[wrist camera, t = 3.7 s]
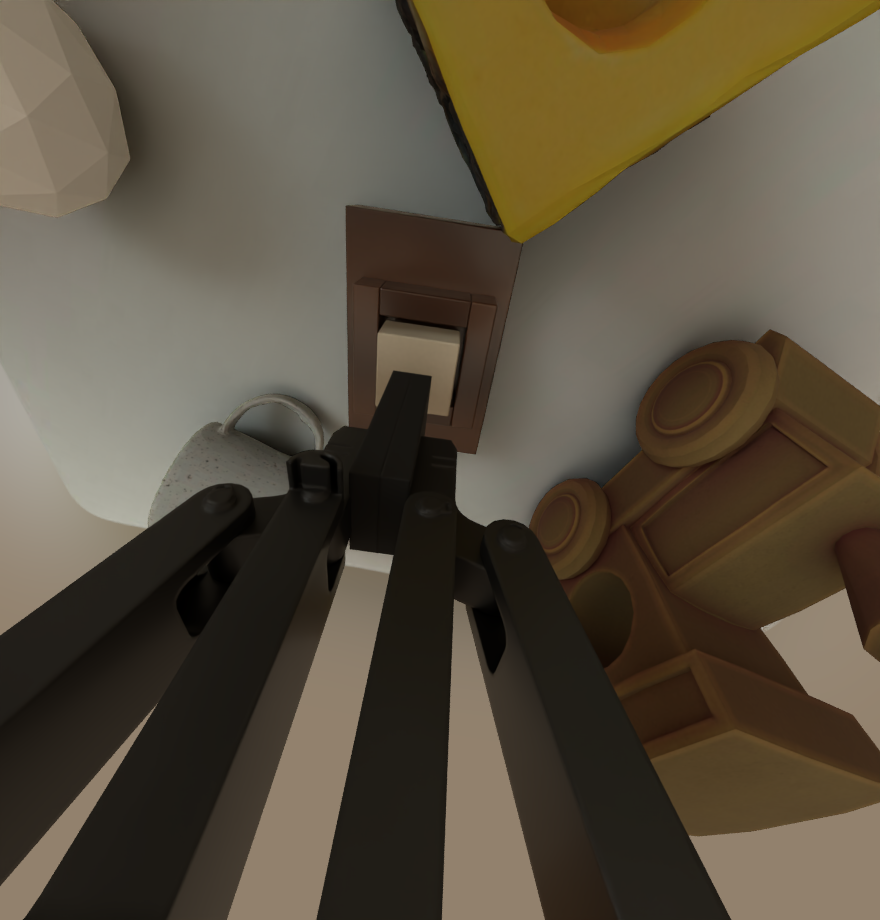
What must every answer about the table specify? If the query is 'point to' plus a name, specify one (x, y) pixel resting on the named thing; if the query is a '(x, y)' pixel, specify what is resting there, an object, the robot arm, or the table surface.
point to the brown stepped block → (428, 304)
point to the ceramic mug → (230, 459)
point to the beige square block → (419, 359)
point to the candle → (595, 83)
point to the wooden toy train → (731, 579)
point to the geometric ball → (54, 114)
